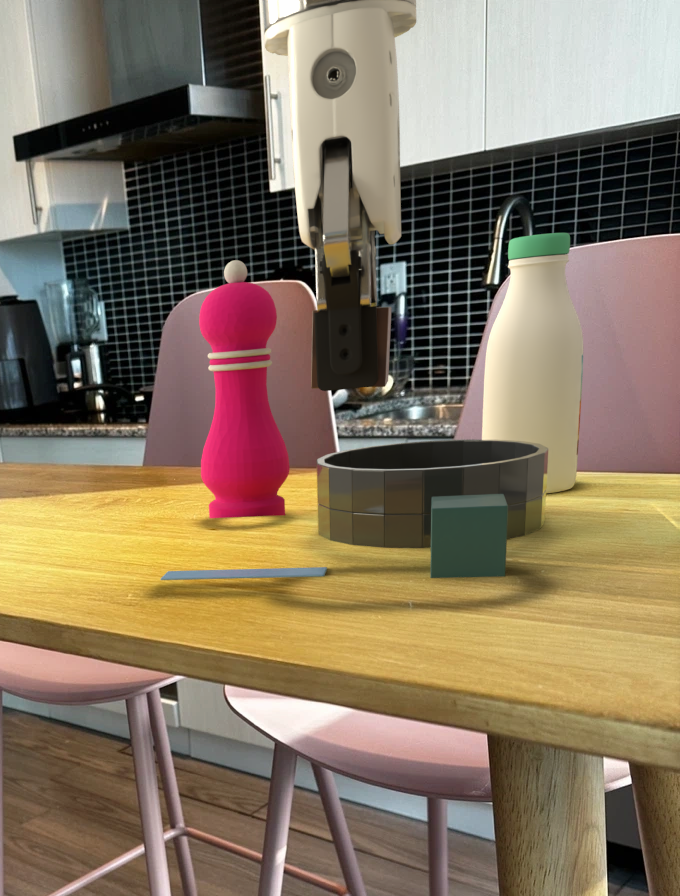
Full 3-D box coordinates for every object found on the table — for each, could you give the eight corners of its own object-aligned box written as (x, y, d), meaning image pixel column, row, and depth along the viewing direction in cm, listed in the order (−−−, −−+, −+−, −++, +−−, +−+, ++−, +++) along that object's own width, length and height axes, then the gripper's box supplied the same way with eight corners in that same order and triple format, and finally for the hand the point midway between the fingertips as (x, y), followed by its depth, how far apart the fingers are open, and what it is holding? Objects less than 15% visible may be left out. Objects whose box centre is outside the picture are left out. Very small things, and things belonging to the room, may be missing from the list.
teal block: (501, 561, 61) (503, 493, 59) (505, 578, 57) (508, 505, 56) (430, 563, 62) (431, 496, 60) (430, 579, 58) (431, 508, 57)
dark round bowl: (476, 512, 81) (479, 434, 79) (588, 546, 67) (595, 452, 65) (291, 535, 79) (288, 454, 77) (365, 574, 65) (364, 478, 62)
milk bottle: (576, 495, 84) (593, 226, 77) (477, 498, 87) (485, 238, 80) (575, 480, 91) (591, 232, 84) (483, 483, 93) (491, 242, 86)
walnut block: (388, 381, 59) (391, 306, 58) (385, 386, 55) (388, 307, 54) (317, 383, 60) (319, 309, 59) (310, 388, 56) (312, 310, 55)
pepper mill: (232, 513, 90) (219, 265, 83) (306, 515, 86) (299, 255, 79) (187, 529, 85) (169, 265, 78) (264, 532, 81) (252, 254, 74)
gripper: (413, -68, 43) (418, 390, 49) (418, 27, 58) (421, 369, 64) (235, -30, 45) (262, 404, 51) (284, 52, 60) (301, 381, 66)
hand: (350, 381), depth 58 cm, fingers closed on walnut block, 4 cm apart
